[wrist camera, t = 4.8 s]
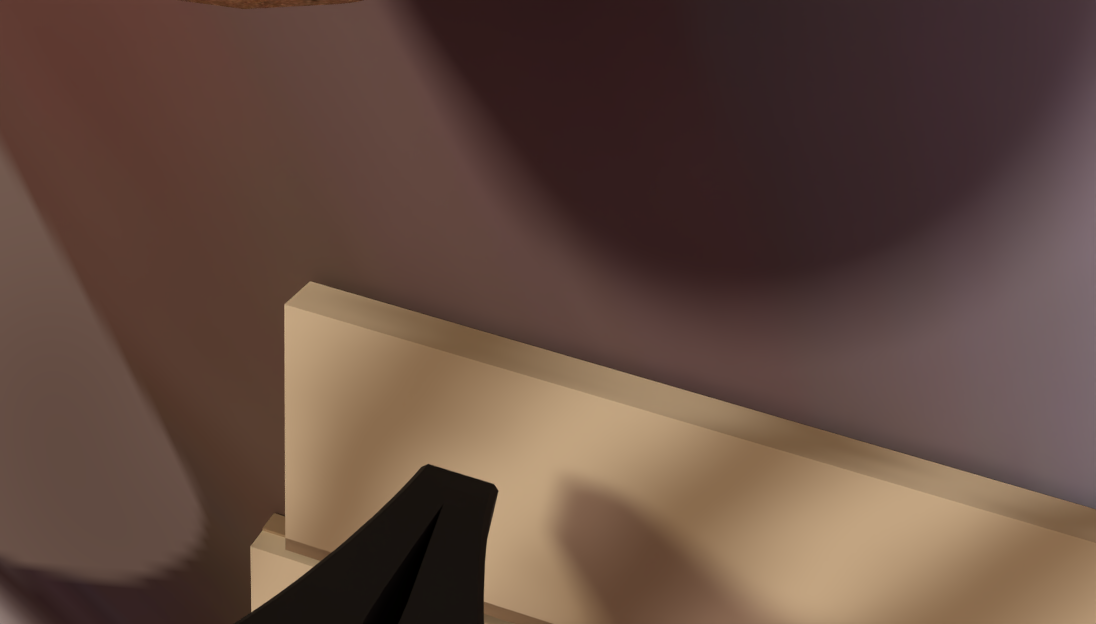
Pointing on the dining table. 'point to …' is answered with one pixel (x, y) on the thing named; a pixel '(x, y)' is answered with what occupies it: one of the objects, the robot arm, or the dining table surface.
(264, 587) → the thin wooden board
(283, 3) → the lidded jar
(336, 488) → the board
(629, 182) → the dining table surface
